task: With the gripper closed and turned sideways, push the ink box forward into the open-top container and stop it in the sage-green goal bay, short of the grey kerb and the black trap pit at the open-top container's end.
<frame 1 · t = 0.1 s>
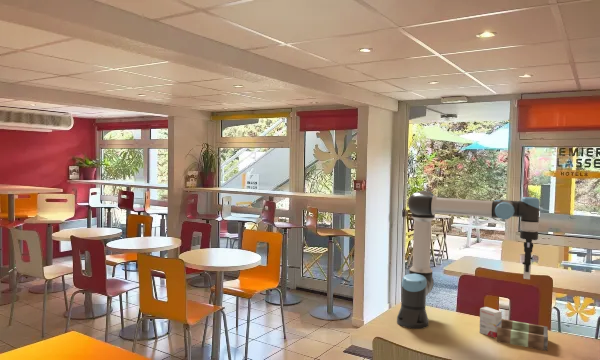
hand: (526, 275, 216), 28 cm above the table, fingers open, 13 cm apart
open-top container: (520, 340, 210), on the table
ink box: (489, 335, 216), on the table
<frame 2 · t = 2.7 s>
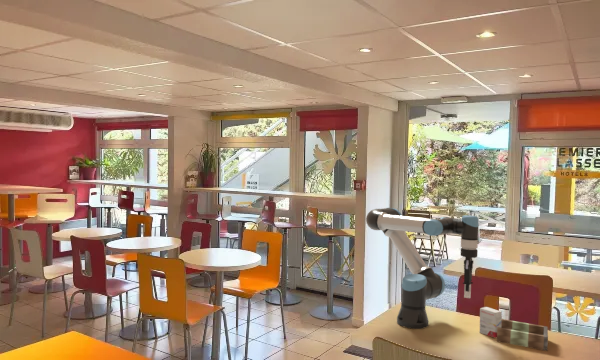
hand: (467, 297, 220), 16 cm above the table, fingers closed
nothing on the table moved.
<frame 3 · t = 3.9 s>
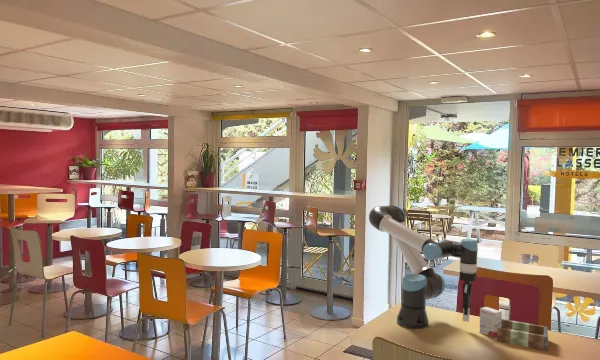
hand: (465, 320, 221), 4 cm above the table, fingers closed
nothing on the table moved.
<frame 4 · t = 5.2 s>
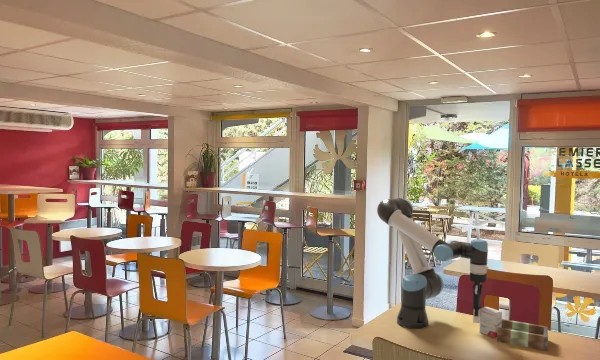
hand: (476, 322, 218), 5 cm above the table, fingers closed
ink box: (489, 334, 216), on the table, touching gripper
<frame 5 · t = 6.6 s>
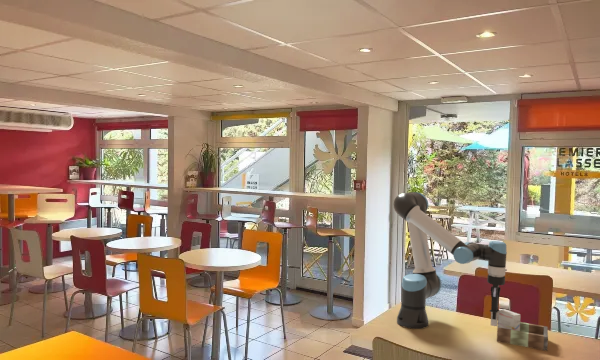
hand: (493, 325, 215), 5 cm above the table, fingers closed
ink box: (507, 338, 212), on the table, touching gripper
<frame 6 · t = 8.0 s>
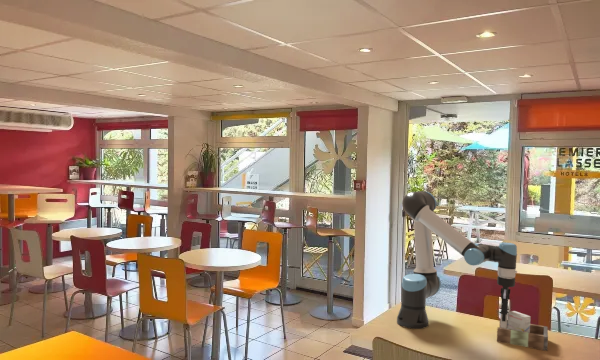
hand: (503, 327, 213), 4 cm above the table, fingers closed
ink box: (517, 339, 210), on the table, touching gripper
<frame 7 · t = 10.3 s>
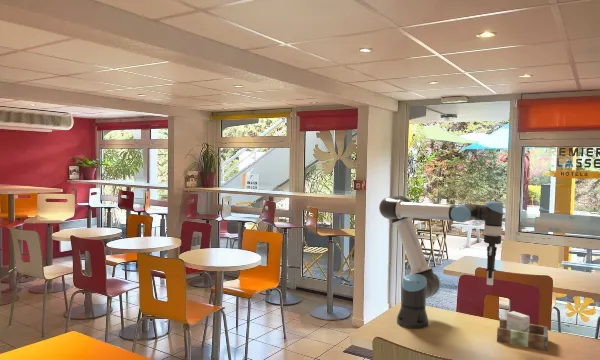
hand: (489, 284, 217), 23 cm above the table, fingers closed
ink box: (517, 340, 210), on the table
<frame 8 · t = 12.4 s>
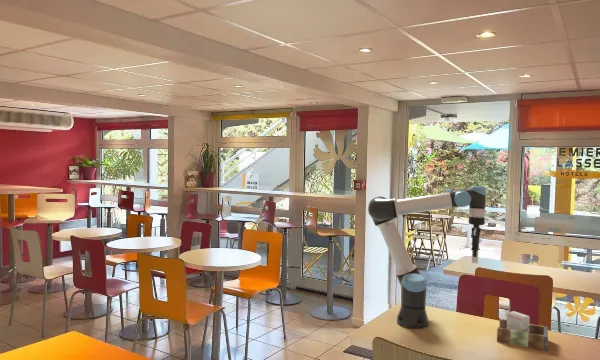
hand: (474, 262, 234), 29 cm above the table, fingers closed
nothing on the table moved.
at the end: ink box inside the target area (0.7 cm from its centre), on the table; ink box tilted 0°; ink box moved 11.6 cm from its start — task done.
